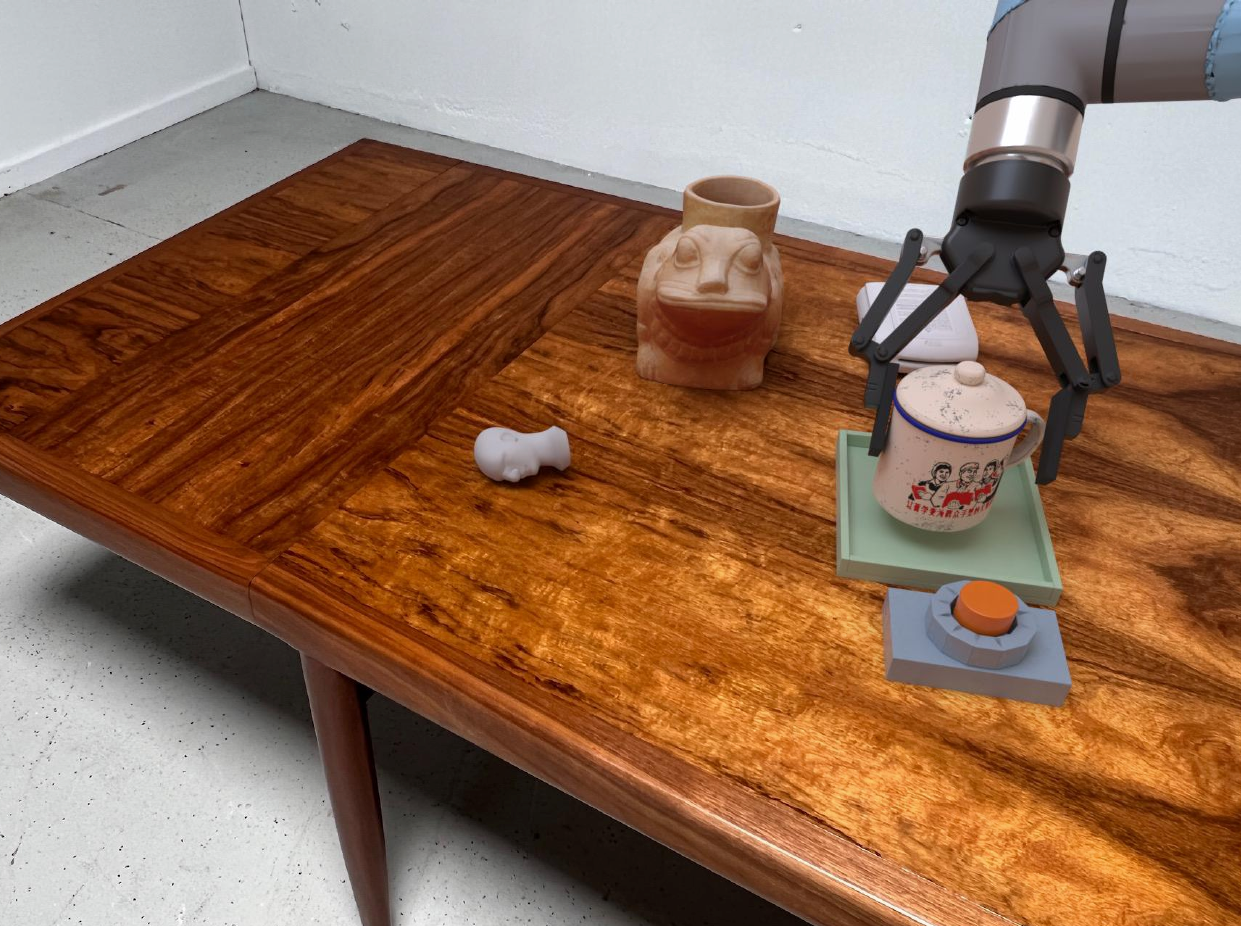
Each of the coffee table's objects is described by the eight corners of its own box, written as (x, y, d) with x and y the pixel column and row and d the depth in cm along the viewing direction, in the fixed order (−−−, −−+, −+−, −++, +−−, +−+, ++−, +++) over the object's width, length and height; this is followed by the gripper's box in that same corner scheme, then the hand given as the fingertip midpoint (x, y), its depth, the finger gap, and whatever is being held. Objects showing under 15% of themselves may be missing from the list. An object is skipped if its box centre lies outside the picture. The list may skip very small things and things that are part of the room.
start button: (1007, 603, 72) (1015, 584, 70) (1014, 641, 69) (1022, 621, 68) (951, 595, 72) (957, 576, 71) (955, 632, 69) (963, 613, 68)
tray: (1022, 468, 89) (1029, 451, 88) (1055, 607, 76) (1063, 588, 75) (835, 446, 92) (839, 428, 91) (836, 576, 79) (841, 558, 78)
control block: (1045, 633, 74) (1064, 590, 72) (1061, 708, 69) (1082, 665, 67) (881, 609, 76) (894, 567, 74) (885, 680, 71) (899, 637, 69)
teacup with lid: (898, 542, 78) (940, 408, 70) (849, 468, 85) (882, 339, 77) (1051, 525, 80) (1108, 392, 72) (990, 454, 86) (1037, 325, 79)
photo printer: (850, 316, 109) (864, 380, 100) (859, 277, 107) (873, 339, 97) (955, 322, 108) (978, 388, 99) (966, 283, 106) (991, 347, 96)
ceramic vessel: (615, 405, 97) (626, 249, 87) (651, 277, 116) (663, 137, 107) (771, 423, 94) (800, 264, 85) (780, 289, 114) (805, 147, 104)
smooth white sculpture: (472, 494, 89) (478, 445, 91) (569, 498, 88) (572, 448, 91) (468, 463, 85) (474, 413, 88) (568, 467, 84) (572, 416, 87)
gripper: (1170, 218, 80) (1116, 504, 79) (847, 181, 85) (792, 448, 84) (1213, 173, 72) (1154, 488, 71) (856, 136, 78) (796, 428, 77)
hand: (958, 467), depth 78 cm, fingers closed on teacup with lid, 11 cm apart
